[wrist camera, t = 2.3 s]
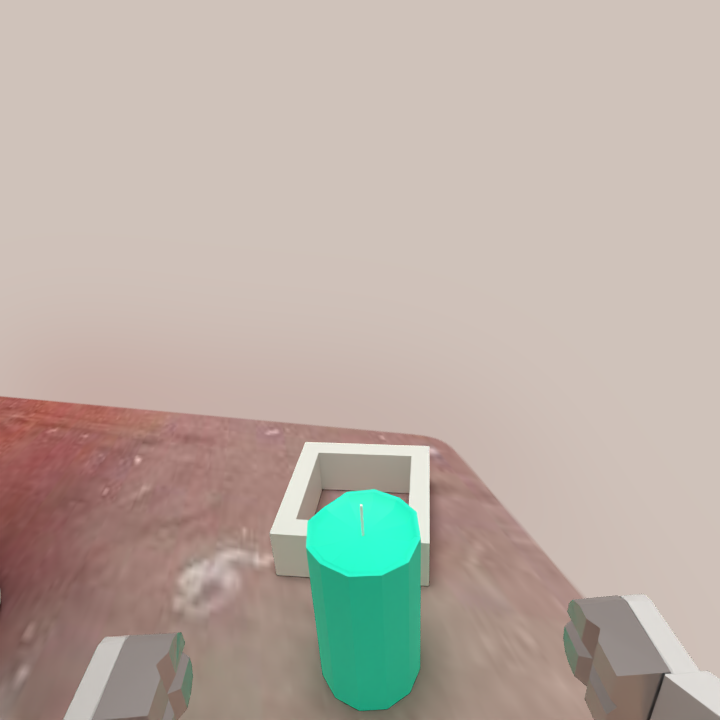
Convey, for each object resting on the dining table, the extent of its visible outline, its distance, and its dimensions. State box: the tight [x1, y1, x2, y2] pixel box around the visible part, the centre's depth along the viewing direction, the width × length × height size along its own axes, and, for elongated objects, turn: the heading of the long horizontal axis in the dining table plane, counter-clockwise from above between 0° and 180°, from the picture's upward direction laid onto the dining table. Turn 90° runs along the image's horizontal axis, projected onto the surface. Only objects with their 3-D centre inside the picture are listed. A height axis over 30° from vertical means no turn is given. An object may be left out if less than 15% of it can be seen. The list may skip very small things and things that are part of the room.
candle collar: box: [270, 442, 430, 586], centre depth 39 cm, size 11×11×4 cm
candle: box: [306, 489, 421, 711], centre depth 27 cm, size 6×6×12 cm
